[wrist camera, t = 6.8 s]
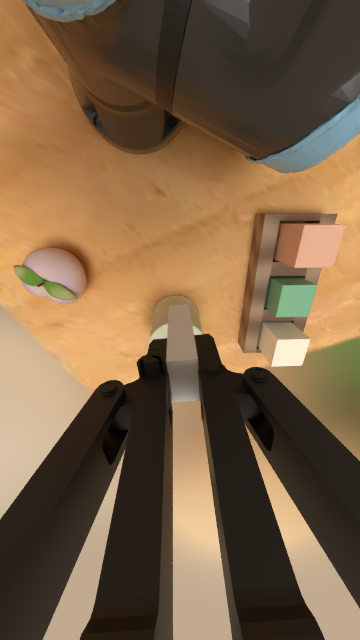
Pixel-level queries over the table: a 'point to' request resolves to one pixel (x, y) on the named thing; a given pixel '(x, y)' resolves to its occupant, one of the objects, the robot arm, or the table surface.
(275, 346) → the cream block
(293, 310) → the green block
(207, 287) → the table surface
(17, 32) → the table surface
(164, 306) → the can
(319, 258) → the terracotta block
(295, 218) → the walnut board
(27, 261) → the decorative fruit
